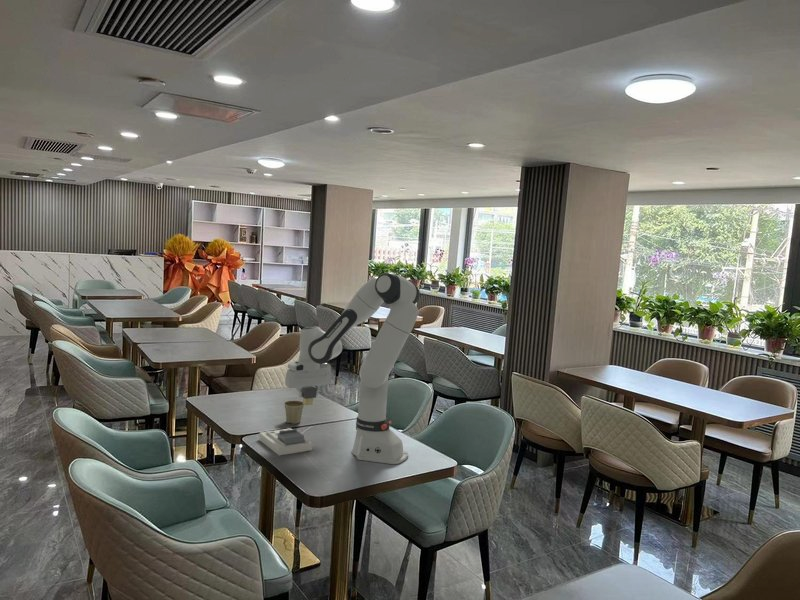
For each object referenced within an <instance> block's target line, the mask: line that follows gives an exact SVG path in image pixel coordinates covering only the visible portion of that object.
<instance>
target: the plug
mask: <svg viewBox="0 0 800 600" xmlns="http://www.w3.org/2000/svg"><path fill="white" fill-rule="evenodd" d="M301 392H302V393H304V397H302V400H303V401H302V402H303V404H304V406H312V405H314V404H313V403H314V402H313V401H314V399H316V398H317V396H316V387H315V386H308V387H302V390H301Z"/></svg>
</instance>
